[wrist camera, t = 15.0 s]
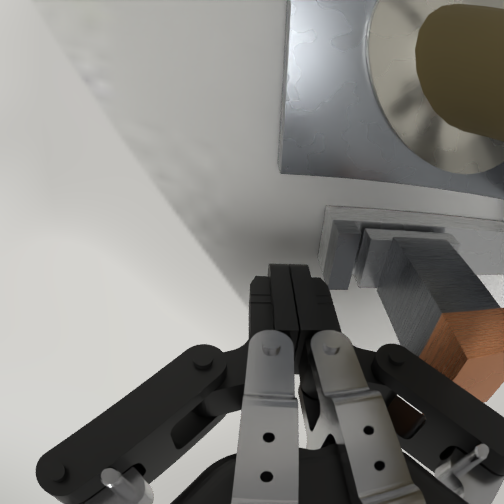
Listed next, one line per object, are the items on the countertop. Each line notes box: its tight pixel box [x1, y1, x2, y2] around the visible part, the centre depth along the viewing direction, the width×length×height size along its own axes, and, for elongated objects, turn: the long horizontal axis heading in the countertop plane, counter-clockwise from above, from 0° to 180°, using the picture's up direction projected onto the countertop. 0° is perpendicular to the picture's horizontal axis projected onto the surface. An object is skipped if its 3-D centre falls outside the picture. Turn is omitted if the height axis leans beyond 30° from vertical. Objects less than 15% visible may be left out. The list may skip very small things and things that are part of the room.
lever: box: [354, 228, 504, 415], centre depth 12 cm, size 5×3×8 cm, turn 88°
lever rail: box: [318, 206, 504, 290], centre depth 15 cm, size 15×3×3 cm, turn 88°
